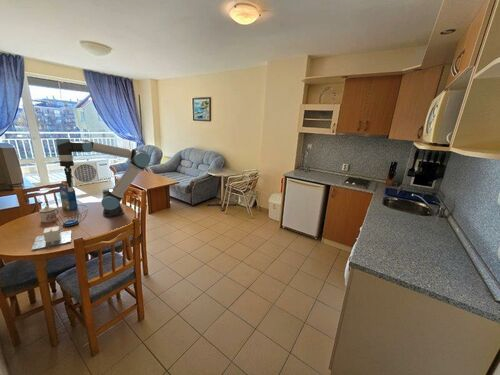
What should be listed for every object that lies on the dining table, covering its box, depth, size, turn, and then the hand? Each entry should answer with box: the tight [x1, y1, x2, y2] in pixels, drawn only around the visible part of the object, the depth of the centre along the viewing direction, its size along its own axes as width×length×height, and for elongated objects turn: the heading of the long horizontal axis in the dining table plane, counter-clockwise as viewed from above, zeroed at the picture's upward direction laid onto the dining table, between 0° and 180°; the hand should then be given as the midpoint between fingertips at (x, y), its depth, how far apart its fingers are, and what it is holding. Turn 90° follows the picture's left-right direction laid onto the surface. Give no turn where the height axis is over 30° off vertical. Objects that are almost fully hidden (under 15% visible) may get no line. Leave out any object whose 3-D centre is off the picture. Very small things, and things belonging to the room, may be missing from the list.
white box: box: [43, 225, 61, 243], centre depth 137 cm, size 7×7×8 cm
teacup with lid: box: [38, 205, 59, 223], centre depth 164 cm, size 12×9×12 cm
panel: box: [31, 230, 72, 251], centre depth 137 cm, size 18×18×6 cm
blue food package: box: [58, 180, 79, 212], centre depth 185 cm, size 6×12×25 cm, turn 65°
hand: (71, 188), depth 154 cm, fingers open, 13 cm apart
